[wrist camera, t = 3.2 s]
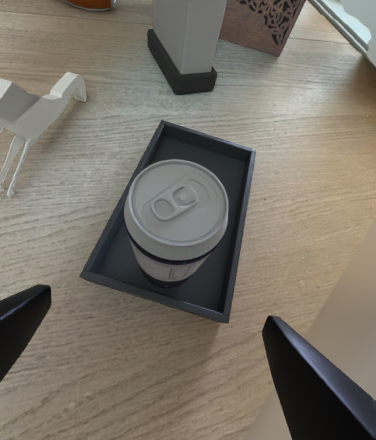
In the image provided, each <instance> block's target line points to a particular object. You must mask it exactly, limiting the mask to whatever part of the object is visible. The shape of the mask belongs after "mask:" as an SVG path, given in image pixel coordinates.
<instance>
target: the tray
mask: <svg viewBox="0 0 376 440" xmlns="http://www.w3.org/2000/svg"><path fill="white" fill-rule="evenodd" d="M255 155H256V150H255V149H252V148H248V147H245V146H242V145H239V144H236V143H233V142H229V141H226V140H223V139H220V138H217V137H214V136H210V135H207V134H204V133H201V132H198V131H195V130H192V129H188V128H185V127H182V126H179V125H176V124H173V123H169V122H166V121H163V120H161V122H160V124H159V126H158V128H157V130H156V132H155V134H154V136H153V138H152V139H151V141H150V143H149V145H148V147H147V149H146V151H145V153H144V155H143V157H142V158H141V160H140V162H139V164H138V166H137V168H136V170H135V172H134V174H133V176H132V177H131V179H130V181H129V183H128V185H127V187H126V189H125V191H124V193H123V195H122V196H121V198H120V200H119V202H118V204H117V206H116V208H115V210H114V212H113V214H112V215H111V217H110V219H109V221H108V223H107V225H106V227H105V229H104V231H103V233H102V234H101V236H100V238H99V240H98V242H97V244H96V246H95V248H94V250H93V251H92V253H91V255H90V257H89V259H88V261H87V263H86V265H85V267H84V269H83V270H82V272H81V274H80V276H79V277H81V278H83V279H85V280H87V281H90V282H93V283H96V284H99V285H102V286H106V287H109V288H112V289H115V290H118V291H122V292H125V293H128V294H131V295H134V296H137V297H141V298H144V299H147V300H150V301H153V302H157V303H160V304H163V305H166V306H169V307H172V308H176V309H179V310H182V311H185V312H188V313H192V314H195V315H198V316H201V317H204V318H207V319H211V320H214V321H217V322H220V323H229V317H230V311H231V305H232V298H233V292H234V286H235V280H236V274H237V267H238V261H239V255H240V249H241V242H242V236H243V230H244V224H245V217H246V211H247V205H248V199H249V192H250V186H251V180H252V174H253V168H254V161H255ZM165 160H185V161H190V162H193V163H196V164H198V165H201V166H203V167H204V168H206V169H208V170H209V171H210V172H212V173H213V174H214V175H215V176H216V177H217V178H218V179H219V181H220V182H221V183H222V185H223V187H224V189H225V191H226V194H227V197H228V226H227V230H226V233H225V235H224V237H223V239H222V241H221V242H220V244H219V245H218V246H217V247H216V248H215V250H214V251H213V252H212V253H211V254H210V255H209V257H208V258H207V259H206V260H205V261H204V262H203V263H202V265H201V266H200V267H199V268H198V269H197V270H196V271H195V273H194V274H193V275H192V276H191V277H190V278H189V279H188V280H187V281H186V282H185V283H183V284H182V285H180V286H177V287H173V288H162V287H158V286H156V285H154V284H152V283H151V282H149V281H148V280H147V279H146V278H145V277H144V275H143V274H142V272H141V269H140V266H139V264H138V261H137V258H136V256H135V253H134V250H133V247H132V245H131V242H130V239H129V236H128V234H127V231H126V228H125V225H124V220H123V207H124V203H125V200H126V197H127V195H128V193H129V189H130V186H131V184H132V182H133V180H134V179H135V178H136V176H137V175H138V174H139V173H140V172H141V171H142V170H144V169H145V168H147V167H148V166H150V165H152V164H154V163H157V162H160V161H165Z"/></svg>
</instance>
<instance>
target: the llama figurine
mask: <svg viewBox="0 0 376 440" xmlns="http://www.w3.org/2000/svg"><path fill="white" fill-rule="evenodd" d="M72 94H73V95H74V97H75V99H76V100H80V101H83V102H85V103H86V99H87V96H86V87H85V83H84V78H83V77H81V76H80V75H78V74H74V73H71V72H67V73H66V74H65V75H64V76H63V77H62V78H61V79H60V80H59V81H58V82H57V83H56V84H55V85H54V87H53V88H52V89H51V91H50V94H48V95H44V96H37V95H33V94H30V93H28V92H26V91H25V90H23V89H22V88H20V87H19V86H17V85H16V84H15V83H13V82H10V81H7V80H3V79H0V133H1V132H2V131H3V129H4V128H5V127H6V129H7V130H9V131H11V132H12V133H14V134H16V135H15V137H14V138H13V140H12V143H11V146H10V149H9V152H8V155H7V158H6V160H5V163H4V165H3V167H2V170H1V172H0V192H1V191H4V189H3V188H2V187H1V186H2V184H3V182H4V179H5V177H6V175H7V173H8V171H9V168H10V166H11V164H12V162H13V160H14V158H15V156H16V154H17V153H18V151H19V149H20V147H21V145H22V144H23V143H25V142H26V144H25V147H24V150H23V153H22V156H21V159H20V161H19V164H18V166H17V169H16V171H15V174H14V176H13V179H12V181H11V184H10V186H9V189H8V191H7V197H11V196H12V195H14V194H15V192H14V191H13V188H14V185H15V183H16V181H17V178H18V176H19V173H20V171H21V168H22V166H23V163H24V161H25V159H26V157H27V155H28V152H29V150H30V148H31V146H32V145H34V144H35V143H36V142H37V141H38V140H39V138H40V136H41V134H42V133H43V132H44V131H45V130H46V129H47V128H48V127H49V126H50V125H51V124H52V123H53V122H54V121H55V120H56V119H57V118H58V117H59V115H60V114H61V113H62V112H63V110H64V108H65V107H66V105H67V103H68V101H69V99H70V97H71V95H72Z"/></svg>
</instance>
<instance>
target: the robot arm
mask: <svg viewBox="0 0 376 440" xmlns="http://www.w3.org/2000/svg"><path fill="white" fill-rule="evenodd" d="M51 303H52V300H51V287H50V286H48V285H41V284H38V285H35V286H33V287H31V288H29V289H26V290H24V291H22V292H19V293H17V294H15V295H12V296H10V297H8V298H5V299H3V300H1V301H0V382H1V381H2V379H3V378H4V377H5V375H6V374H7V373H8V371H9V370H10V369H11V367H12V366H13V365H14V363H15V362H16V360H17V359H18V358H19V356H20V355H21V354H22V352H23V351H24V349H25V348H26V346H27V345H28V343H29V342H30V340H31V338H32V337H33V335H34V333H35V332H36V330H37V329H38V327H39V325H40V324H41V322H42V320H43V319H44V317H45V315H46V314H47V312H48V310H49V309H50V307H51ZM262 336H263V341H264V345H265V349H266V354H267V358H268V362H269V367H270V371H271V375H272V378H273V382H274V385H275V388H276V391H277V394H278V397H279V400H280V403H281V406H282V410H283V413H284V416H285V419H286V422H287V425H288V428H289V431H290V434H291V437H292V440H376V401H375V400H373V398H372V397H371V396H370V395H369V394H367V393H366V392H365V391H364V390H363V389H362V388H361V387H359V386H358V385H357V384H356V383H355V382H353V381H352V380H351V379H350V378H349V377H348V376H347V375H345V374H344V373H343V372H342V371H341V370H340V369H339V368H337V367H336V366H335V365H334V364H333V363H332V362H330V361H329V360H328V359H327V358H326V357H325V356H324V355H322V354H321V353H320V352H319V351H318V350H317V349H315V348H314V347H313V346H312V345H311V344H309V343H308V342H307V341H306V340H305V339H304V338H303V337H302V336H300V335H299V334H298V333H297V332H296V331H295V330H293V329H292V328H291V327H290V326H289V325H288V324H287V323H285V322H284V321H283V320H282V319H281V318H279V317H277V316H268V317H267V320H266V322H265V325H264V327H263V330H262Z"/></svg>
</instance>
